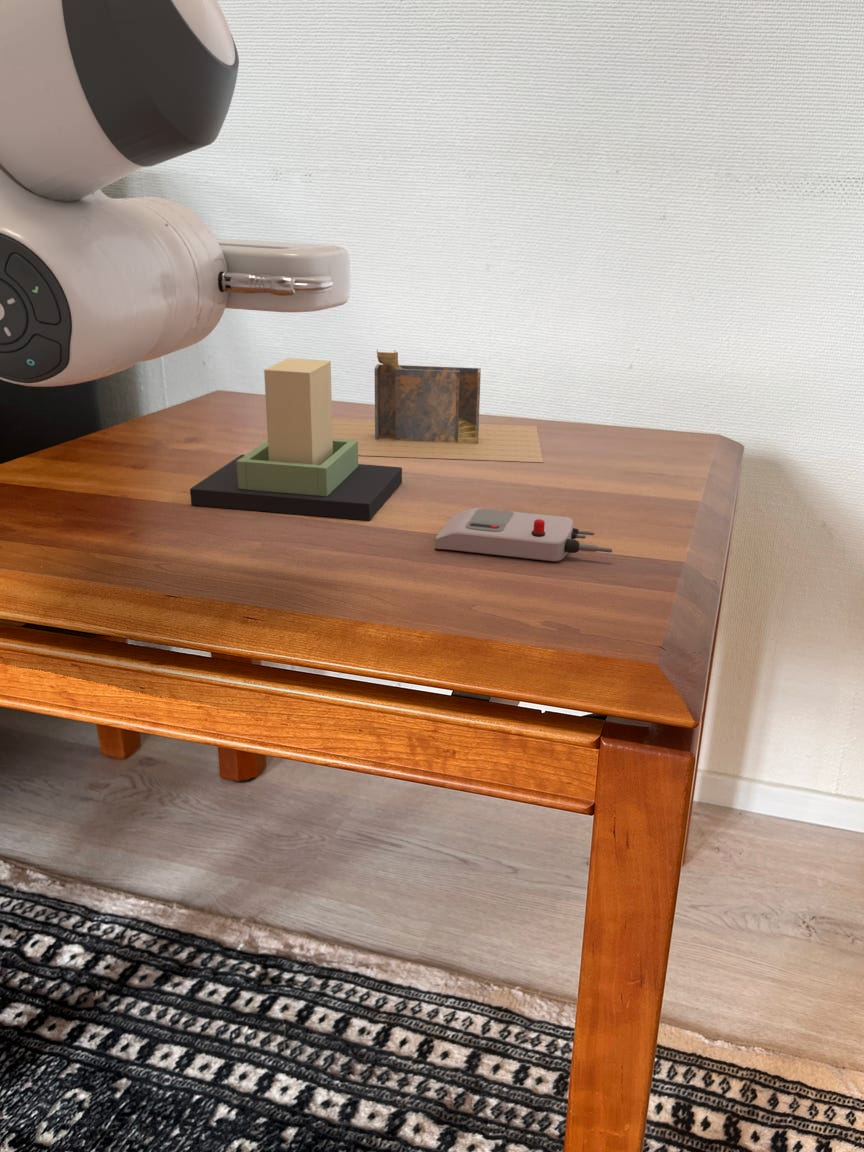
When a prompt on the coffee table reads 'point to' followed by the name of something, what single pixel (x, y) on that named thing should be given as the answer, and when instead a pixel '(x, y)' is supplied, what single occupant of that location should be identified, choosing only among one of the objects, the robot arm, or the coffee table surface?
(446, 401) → the architectural model on board
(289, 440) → the tall beige rectangular block
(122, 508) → the coffee table surface
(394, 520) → the coffee table surface
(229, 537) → the coffee table surface
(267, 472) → the base pad
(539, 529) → the grey electronic control box
